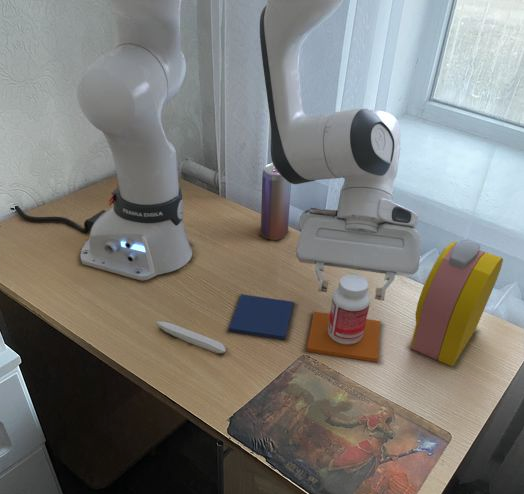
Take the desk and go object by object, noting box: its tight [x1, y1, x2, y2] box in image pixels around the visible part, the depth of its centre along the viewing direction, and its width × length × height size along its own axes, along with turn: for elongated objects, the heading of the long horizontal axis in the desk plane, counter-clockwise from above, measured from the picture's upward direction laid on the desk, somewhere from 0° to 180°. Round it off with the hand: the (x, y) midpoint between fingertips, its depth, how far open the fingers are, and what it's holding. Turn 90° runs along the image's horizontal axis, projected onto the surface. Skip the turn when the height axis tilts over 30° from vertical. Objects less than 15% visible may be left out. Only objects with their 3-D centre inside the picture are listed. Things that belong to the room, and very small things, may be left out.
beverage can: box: [260, 162, 292, 241], centre depth 113 cm, size 6×6×15 cm
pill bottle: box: [328, 273, 371, 344], centre depth 89 cm, size 6×6×11 cm
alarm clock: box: [410, 239, 504, 367], centre depth 88 cm, size 15×8×18 cm, turn 145°
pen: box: [155, 321, 227, 354], centre depth 91 cm, size 2×14×2 cm, turn 63°
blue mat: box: [228, 294, 295, 341], centre depth 97 cm, size 10×10×1 cm
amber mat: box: [305, 311, 381, 363], centre depth 93 cm, size 12×10×1 cm
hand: (350, 295), depth 89 cm, fingers open, 8 cm apart
